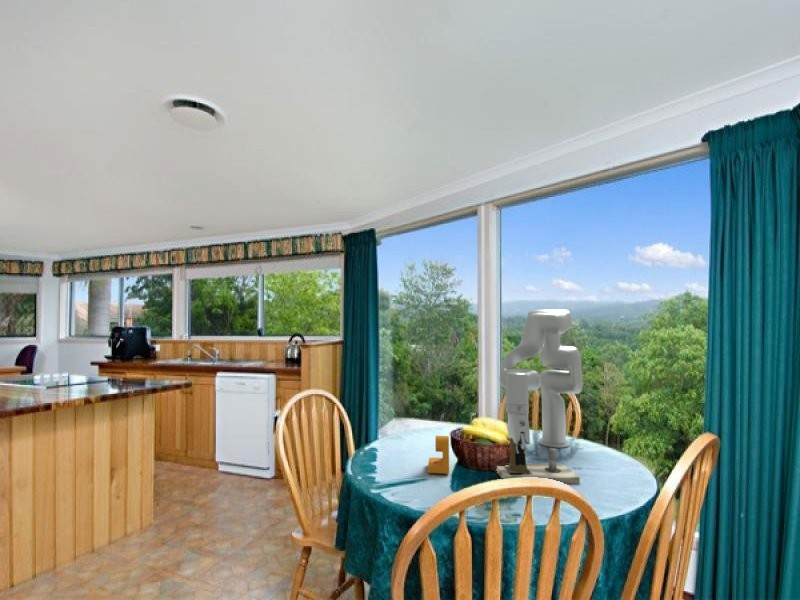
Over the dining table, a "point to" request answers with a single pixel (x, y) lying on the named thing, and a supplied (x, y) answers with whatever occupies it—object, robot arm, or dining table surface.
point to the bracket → (440, 463)
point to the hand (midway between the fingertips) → (518, 462)
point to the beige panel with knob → (544, 471)
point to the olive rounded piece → (512, 459)
